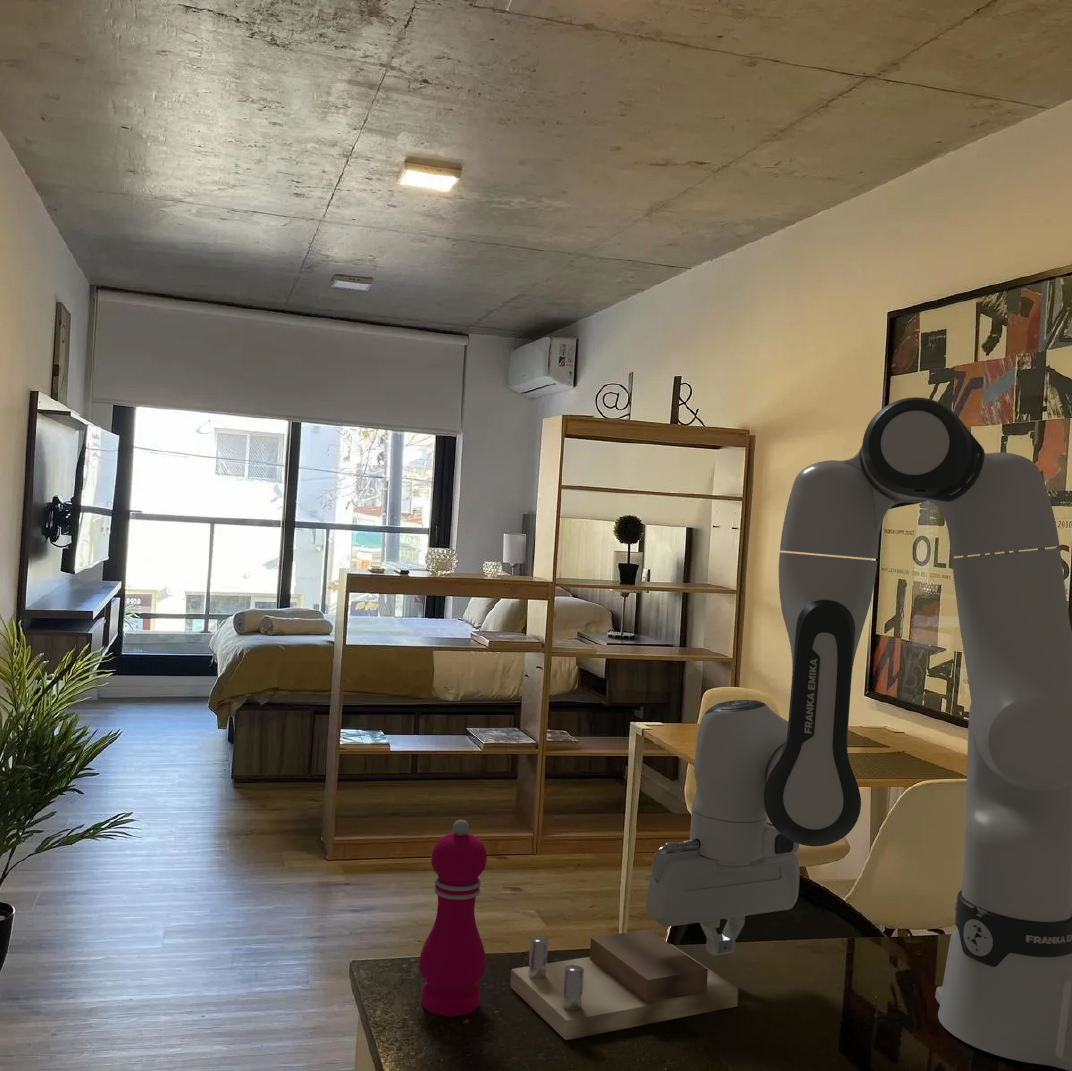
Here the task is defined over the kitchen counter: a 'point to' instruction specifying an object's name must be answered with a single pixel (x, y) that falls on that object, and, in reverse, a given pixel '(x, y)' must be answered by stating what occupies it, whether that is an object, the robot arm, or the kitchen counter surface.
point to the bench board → (602, 996)
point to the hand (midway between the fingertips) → (720, 952)
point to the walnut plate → (648, 965)
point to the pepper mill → (454, 927)
